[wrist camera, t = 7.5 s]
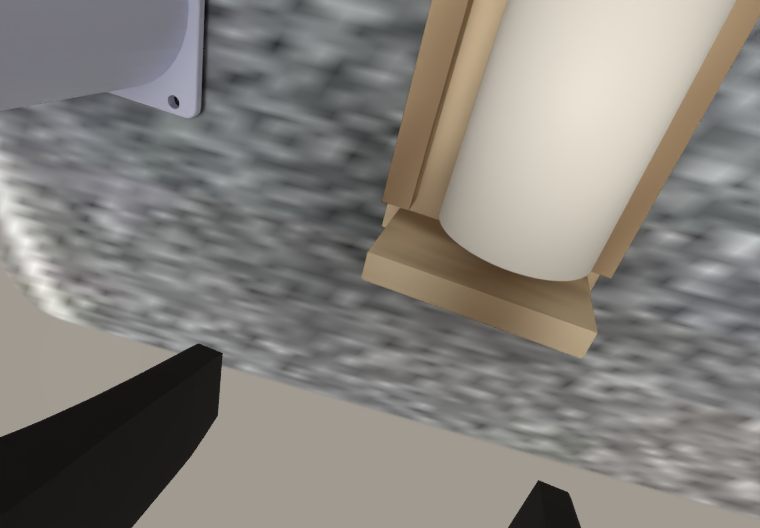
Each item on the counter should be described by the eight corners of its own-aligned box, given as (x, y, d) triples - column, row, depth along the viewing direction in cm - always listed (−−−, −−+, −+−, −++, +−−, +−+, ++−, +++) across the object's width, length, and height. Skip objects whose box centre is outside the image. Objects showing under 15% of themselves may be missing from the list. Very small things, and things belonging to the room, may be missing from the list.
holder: (388, 217, 19) (346, 273, 15) (501, -213, 13) (481, -325, 9) (585, 283, 18) (599, 365, 14) (817, -149, 12) (974, -242, 8)
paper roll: (580, 237, 17) (598, 311, 13) (447, 195, 17) (423, 252, 13) (734, -71, 12) (841, -112, 8) (547, -115, 13) (559, -175, 9)
